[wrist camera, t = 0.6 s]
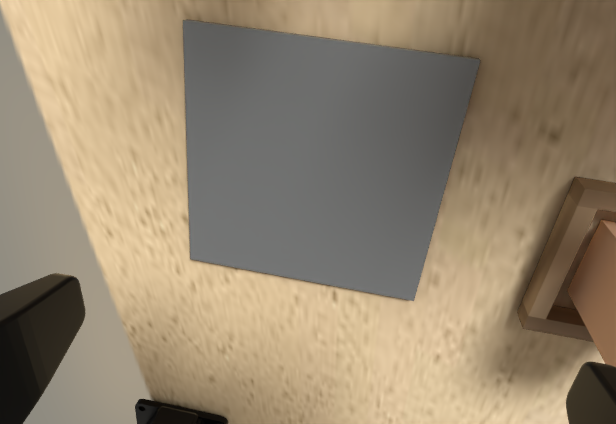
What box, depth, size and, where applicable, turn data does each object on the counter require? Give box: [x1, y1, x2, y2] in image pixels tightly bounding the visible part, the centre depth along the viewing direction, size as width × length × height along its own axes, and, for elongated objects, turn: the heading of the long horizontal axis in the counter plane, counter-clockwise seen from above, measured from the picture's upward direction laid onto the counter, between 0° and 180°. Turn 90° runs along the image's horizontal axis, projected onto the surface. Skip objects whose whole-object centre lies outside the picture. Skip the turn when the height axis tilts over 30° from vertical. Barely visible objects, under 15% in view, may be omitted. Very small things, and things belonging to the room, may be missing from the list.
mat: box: [183, 20, 480, 301], centre depth 21 cm, size 12×12×1 cm
